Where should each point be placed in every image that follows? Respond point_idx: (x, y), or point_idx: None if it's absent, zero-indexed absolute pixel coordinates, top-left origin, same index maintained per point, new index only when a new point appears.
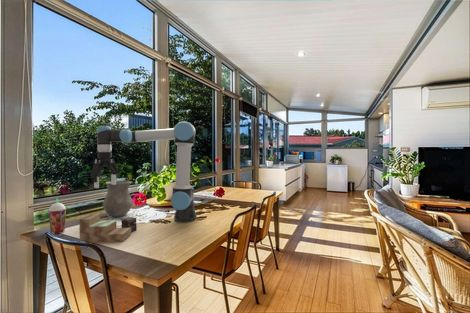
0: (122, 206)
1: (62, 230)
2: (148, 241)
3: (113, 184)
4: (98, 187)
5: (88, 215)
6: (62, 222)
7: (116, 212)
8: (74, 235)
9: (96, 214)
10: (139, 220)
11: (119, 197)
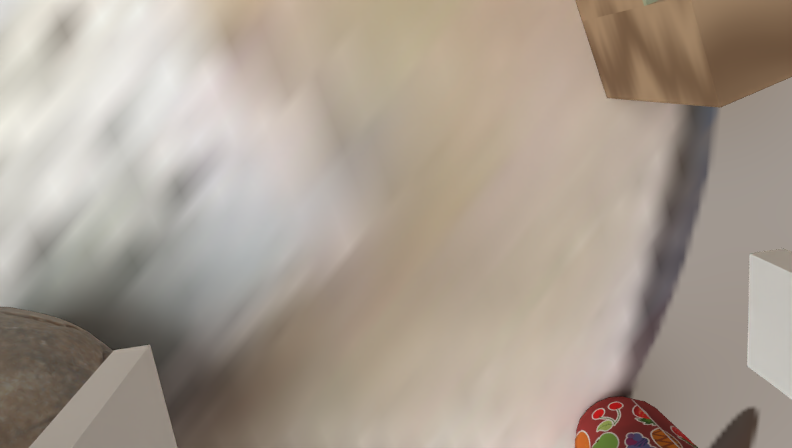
0: (37, 330)
1: (616, 402)
2: None
3: (161, 399)
4: (778, 252)
5: (773, 76)
6: (653, 435)
7: None
8: (635, 240)
9: (714, 20)
10: (74, 33)
11: None
